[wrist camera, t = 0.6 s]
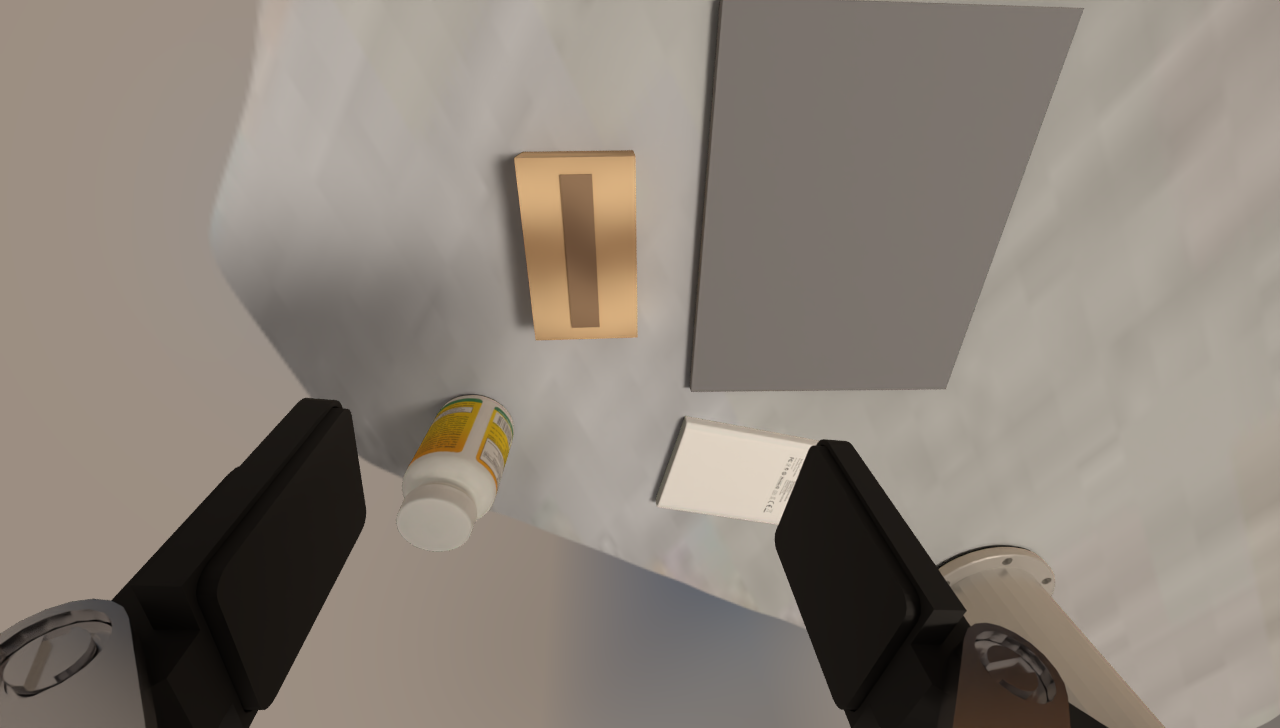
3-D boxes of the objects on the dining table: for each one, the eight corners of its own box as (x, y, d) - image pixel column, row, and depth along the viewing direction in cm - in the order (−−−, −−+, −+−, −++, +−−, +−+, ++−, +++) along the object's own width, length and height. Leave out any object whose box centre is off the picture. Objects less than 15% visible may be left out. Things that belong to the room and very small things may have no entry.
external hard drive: (683, 410, 37) (837, 440, 39) (654, 494, 40) (796, 517, 42) (687, 423, 35) (846, 453, 37) (656, 509, 39) (803, 531, 41)
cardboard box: (634, 316, 33) (637, 338, 30) (542, 318, 32) (535, 341, 29) (632, 149, 28) (635, 156, 25) (523, 151, 28) (513, 158, 25)
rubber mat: (939, 383, 36) (945, 389, 35) (689, 385, 35) (691, 391, 34) (1070, 10, 26) (1083, 8, 25) (720, -2, 24) (723, -5, 24)
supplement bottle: (527, 412, 35) (502, 513, 27) (495, 464, 37) (462, 573, 29) (454, 379, 34) (403, 474, 25) (425, 435, 36) (368, 541, 27)
